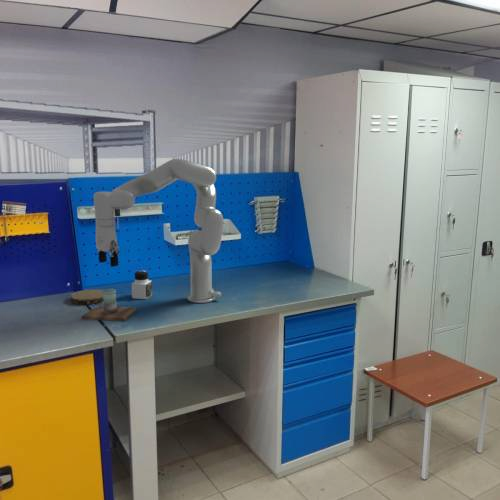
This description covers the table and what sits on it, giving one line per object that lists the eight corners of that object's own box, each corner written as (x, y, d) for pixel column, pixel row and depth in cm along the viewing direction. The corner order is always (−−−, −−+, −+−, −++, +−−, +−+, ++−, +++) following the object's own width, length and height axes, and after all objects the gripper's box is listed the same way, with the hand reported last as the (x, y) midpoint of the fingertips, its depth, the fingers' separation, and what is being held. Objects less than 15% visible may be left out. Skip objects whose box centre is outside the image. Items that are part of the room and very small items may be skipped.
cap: (101, 304, 210) (100, 292, 209) (105, 300, 215) (104, 288, 214) (114, 304, 210) (114, 292, 209) (118, 300, 215) (117, 288, 214)
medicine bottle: (146, 299, 234) (145, 274, 232) (131, 298, 236) (130, 273, 233) (152, 295, 241) (151, 270, 239) (138, 294, 242) (137, 269, 240)
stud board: (136, 309, 219) (136, 298, 218) (125, 321, 206) (124, 308, 205) (96, 308, 221) (95, 296, 220) (82, 319, 208) (81, 306, 207)
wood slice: (70, 297, 238) (70, 291, 237) (106, 294, 243) (106, 288, 243) (71, 307, 223) (70, 300, 223) (109, 303, 228) (108, 297, 228)
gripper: (86, 221, 209) (90, 262, 213) (107, 226, 197) (110, 269, 201) (103, 219, 214) (106, 259, 218) (124, 223, 202) (127, 266, 206)
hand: (108, 264), depth 209 cm, fingers open, 9 cm apart
